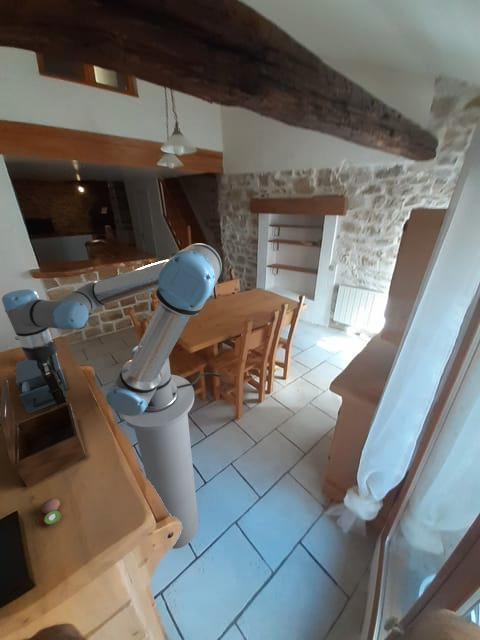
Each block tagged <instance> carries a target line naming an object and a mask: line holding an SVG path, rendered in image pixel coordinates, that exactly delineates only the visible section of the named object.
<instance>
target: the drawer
mask: <svg viewBox="0 0 480 640" xmlns="http://www.w3.org/2000/svg"><path fill="white" fill-rule="evenodd" d="M56 374H57V377H58V378H59V379H58V381H61V380H60V377H59V374H58V372H56ZM59 385H61V388H62V390H63V393H64V395H65V398H66V400H68V396H67V393H66V391H65V390H64V388H63V386H62V384H59ZM48 390H50V389H49V387H48V385H47V383H46V380H45V378H44V377H40V378H37V379H34V380H30V381H27V382H24V383H22V392H23V393H22V394H21V393H20V394H18V397H19V399H20V401H21V403H22V406H23V407H24V409H25V411H26V413H27V415H29V414H32V413H34V412H36V411H40V410H42V409H45V408H47V407H50V406H52V405H56V402H55V400H54V397H53V395H52V393H51V392H50V393H48Z"/></svg>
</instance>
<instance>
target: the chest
mask: <svg viewBox="0 0 480 640" xmlns="http://www.w3.org/2000/svg"><path fill="white" fill-rule="evenodd" d="M86 458H87V454H86V450H85V447H84V441H83V439H82V434H81V431H80V427H79V423H78V420H77V417H76V414H75V412H74V409H73V406H72V404H71V402H67V403H64V404H61V405H59V406H57V407H54V408H52V409H49V410H47V411H44V412H41V413H39V414H36V415H34V416H31V417H28V418H25V419H23V420H20V421H18V422H16V440H15V464H13V466H14V468H15V469H16V472H17V473H18V474H19V476H20V477H21V480H22V481H23V483H24V484H25V486H26V488H28V487H30V486H32V485H34V484H36V483H38V482H39V481H43V480H44V479H46V478H48V477H49V476H52V475H54V474H57V473H58V472H60V471H61V470H64V469H66V468H68V467H69V466H72V465H73V464H75V463H77V462H79V461H81V460H83V459H86Z"/></svg>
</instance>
